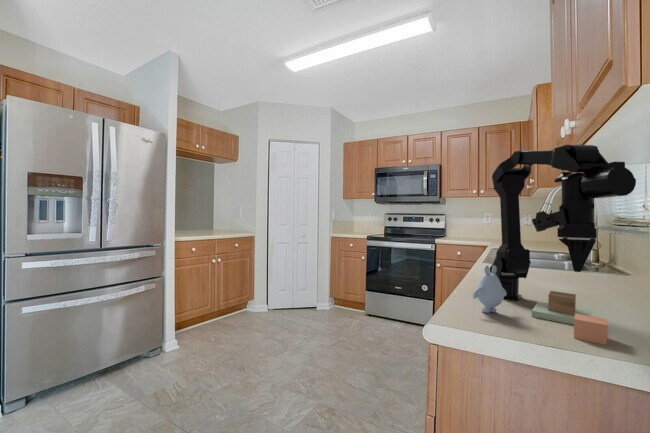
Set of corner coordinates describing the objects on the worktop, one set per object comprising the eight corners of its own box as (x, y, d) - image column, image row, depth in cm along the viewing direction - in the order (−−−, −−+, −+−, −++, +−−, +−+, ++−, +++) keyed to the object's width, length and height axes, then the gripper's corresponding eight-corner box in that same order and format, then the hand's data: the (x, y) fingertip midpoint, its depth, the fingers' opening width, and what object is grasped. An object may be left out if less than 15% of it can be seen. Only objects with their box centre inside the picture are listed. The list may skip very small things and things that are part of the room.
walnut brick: (550, 306, 80) (550, 290, 80) (575, 310, 77) (575, 294, 76) (548, 310, 76) (548, 294, 76) (574, 315, 73) (574, 298, 73)
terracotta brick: (574, 332, 66) (575, 313, 66) (606, 338, 63) (606, 318, 63) (573, 338, 63) (574, 319, 63) (607, 345, 59) (607, 325, 59)
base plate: (537, 307, 84) (538, 301, 84) (591, 316, 77) (591, 310, 77) (531, 316, 76) (531, 310, 76) (590, 328, 69) (590, 321, 69)
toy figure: (495, 307, 83) (496, 262, 83) (516, 314, 77) (517, 266, 77) (463, 310, 80) (464, 264, 80) (482, 318, 74) (483, 268, 74)
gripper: (539, 204, 82) (539, 262, 82) (528, 198, 68) (529, 269, 67) (595, 202, 75) (595, 267, 74) (596, 196, 61) (597, 276, 60)
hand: (577, 269), depth 69 cm, fingers open, 9 cm apart
